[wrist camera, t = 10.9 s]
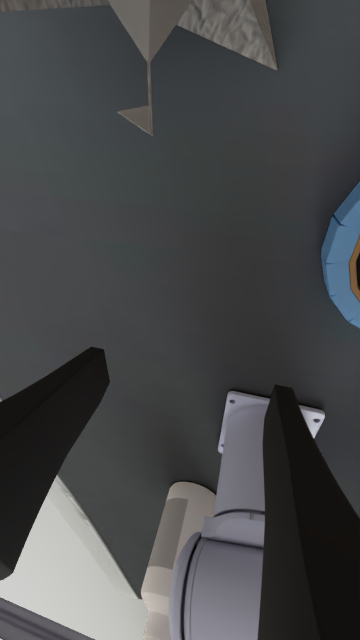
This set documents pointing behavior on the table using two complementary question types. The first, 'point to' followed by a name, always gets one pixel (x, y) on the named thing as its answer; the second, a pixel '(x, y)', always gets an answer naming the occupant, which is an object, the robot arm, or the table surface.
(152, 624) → the spray bottle
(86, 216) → the table surface
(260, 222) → the table surface
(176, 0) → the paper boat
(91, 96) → the table surface
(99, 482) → the table surface
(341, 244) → the tape ring
